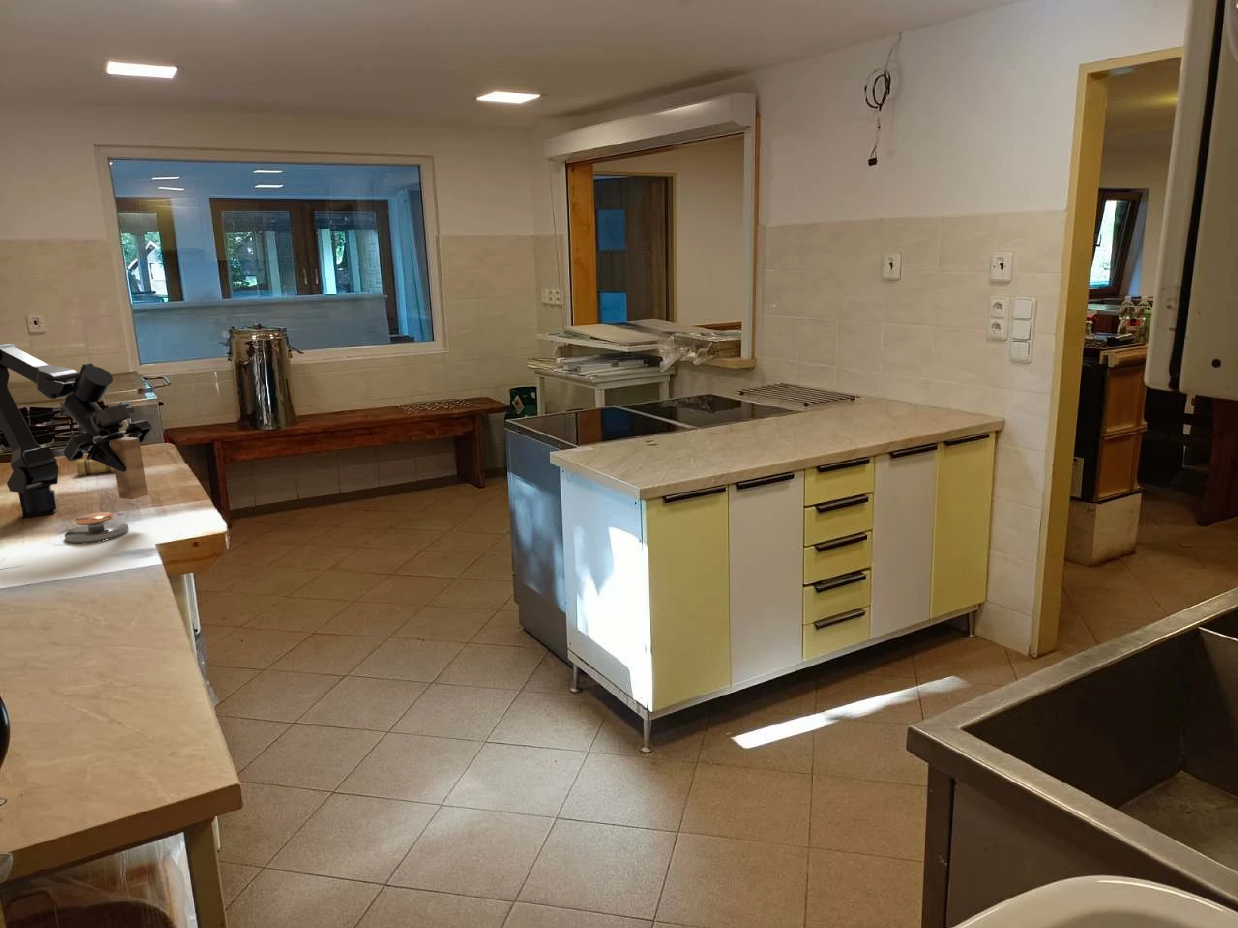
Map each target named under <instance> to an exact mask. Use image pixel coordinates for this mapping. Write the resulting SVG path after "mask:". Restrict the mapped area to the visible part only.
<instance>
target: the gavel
mask: <svg viewBox="0 0 1238 928" xmlns="http://www.w3.org/2000/svg"><path fill="white" fill-rule="evenodd" d="M75 463H76V464H75V466H76V471H77V475H78V476H79V477H81V476H87V475H90V474H91V475H94V474H101V473H103V474H104V473H108V472H111V473H115V469H114V468H112V467H110V466H108V465H105V464H102V463H100V462H97V461H94V460H87V459H85V458H82V459H79V460H76V461H75Z"/></svg>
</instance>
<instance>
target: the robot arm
mask: <svg viewBox="0 0 1238 928" xmlns="http://www.w3.org/2000/svg"><path fill="white" fill-rule="evenodd" d="M9 370H10V371H13V373H16V374H17V375H20V376H22V377H23V378H25V379H28V380H29V381H31V382H33V383H34V384H35V385H36V389H37V390H38V391H39V392H40V393H41V394H43V395H44V396H45V397H47V399H49V400H56V399H61V398H65V399H64V401H63V402H60V404H59V405H60V408H59V415H60V416H65V415H69V416H70V417H71V419H73V421H74V422H75V423H76V424H77V425H78V428H77V429H76V430H77V431H78V433H79V434H75V435H73V436H71V437H70V439H69V441H68V442H67V444H66V445H65V447H64V449H63V455H64V457H65V458H66V459H67V460H68V461H69V462H77V460H83V456H84V453H83V451H85V452H86V453H87V454H88V455H87V456H86V459H85V460H86V461H89V460H94V461H97V462H100V463H102V464H105V465H108V466H110V467H112V468H115V469H117V470H120V471H122V472H125V470H126V467H125V466H124V464H123V463H122V461H121V460H120V459H119V458H118V457H117V455H116V454H115V453H114V452H113V450H112V449H111V445H110V440H114V439H119V438H123V437H135V438H139V441H140V445H141V444H143V443H144V442H145V441H146V439H147V437H148V436H149V435H150V432H151V431H152V429H153V426H152V424H150V423H149V421H148V420H145V419H144V420H143V419H142V420H137V421H133V422H130V423H129V424H128V426H127V428H126V429H125V430H121V431H120V429H121V428H123V426H124V423H123V422H124V421H126V420H129V419H130V418H132V415H134V414H135V408H134V406H133V405H132V404H131V403H130V401H128V400H125V401H121V402H120V403H117V404H116V405H112V406H108V407H105V408H104V409H102V408H101V407H100V405H99V404H98V403H99V402H101V401H102V400H103V399H104V397H105V395H106V394H107V392H108V390H109V389H110V387H111V385H112V383H113V381H114V378H113V375H112V374H111V373H110V372H109V371H107V370H106V369H104V368H101V367H98V366H95V365H94V364H93V363H91V362H90V363H85V364H82V366H81V367H80V370H79V372H77V370H75V369H72V368H68V367H64V366H56V365H51V364H48V363H46V362H45V361H42V360H41V359H39V358H36V356H35V357H34V356H33V355H31V354H29V353H27V352H25V351H23V350H21V349H20V348H18V347H17V346H16V345H15V344H13V343H0V429H1V431H2V433H3V435H4V438H5V439H6V441H7V444H8V445H9V447H10V448H11V451H12V455H11V460H10V466H11V469H12V470H13V471H12V473H11V475H10V477H9V479H8V480H7V482H6V485H7V487H8V489H9V491H10V492H11V493H17V494H18V498H19V503H20V508H21V515H20V516H21V517H20V518H21V519H24V518H30V517H36V516H37V517H38V516H39V517H40V516H45V515H51V514H54V513H55V512H56V510H57V508H58V504H57V503H58V502H57V497H56V492H55V490H54V489H53V490H52V486H53V485H58V484H59V483H58V481H59V470H60V469H59V468H60V467H59V465H58V463H57V462H58V460H57V458H56V457H55V456H54V453H53V451H52V449H51V448H50V447H49V446H42V445H40V444H39V443H37V442H36V439H35V438H34V436H33V434H32V432H31V430H30V428H29V426H28V424H27V423H26V420H25V419H24V417H23V414H22V413H21V410H20V408H19V407H18V404H17V403H16V401H15V398H14V397H13V395H12V393H11V391H10V389H9V381H10V377H11V376H10V375H11V374H10V371H9Z"/></svg>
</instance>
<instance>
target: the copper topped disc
mask: <svg viewBox="0 0 1238 928" xmlns="http://www.w3.org/2000/svg"><path fill="white" fill-rule="evenodd" d="M113 518H114V514H113V513H112V512H108V511H105V512H104V511H101V512H93V513H88V514H84V515H81V516H78V517H77V518H75V524H77V525H81V526H78V527H75V528H73V529H71V530H69V531H67V532H66V533H64V539H65V542H66V543H69V544H73V545H75V544H76V545H84V544H83V543H87V544H93V543H92V542H96V543H99V542H98V541H101V542H104V541H103V540H106V539H110V540H112V539H111V538H114V539H116V538H115V537H117V538H119V537H122V536H124V535H126V534H127V533H128V532H129V525H128V523H126V522H124V521H110V520H112V519H113ZM125 533H126V534H125ZM123 534H124V535H123ZM121 535H122V536H121ZM118 536H119V537H118ZM106 541H107V540H106Z"/></svg>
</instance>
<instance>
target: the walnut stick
mask: <svg viewBox="0 0 1238 928" xmlns="http://www.w3.org/2000/svg"><path fill="white" fill-rule="evenodd" d="M110 447H111V449H112V450H113V452H114V453H115V454H116V455H117V457H118V458H119V459H120V460H121V461H122V463H123V464H124V466H125V467H126V470H125V472H122V471H120V470H117V469H115V468H114V469H115V472H114V474H115V480H116V486H117V491H118V497H119V498H120V499H125V500H136V499H138V498H141V497H145V496H148V495H149V492H148V486H147V480H146V474H145V473H146V472H145V467H144V461H143V460H144V459H143V453H142V448H141V444H140V441H139V438H135V437H123V438H119V439H114V440H110Z"/></svg>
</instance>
